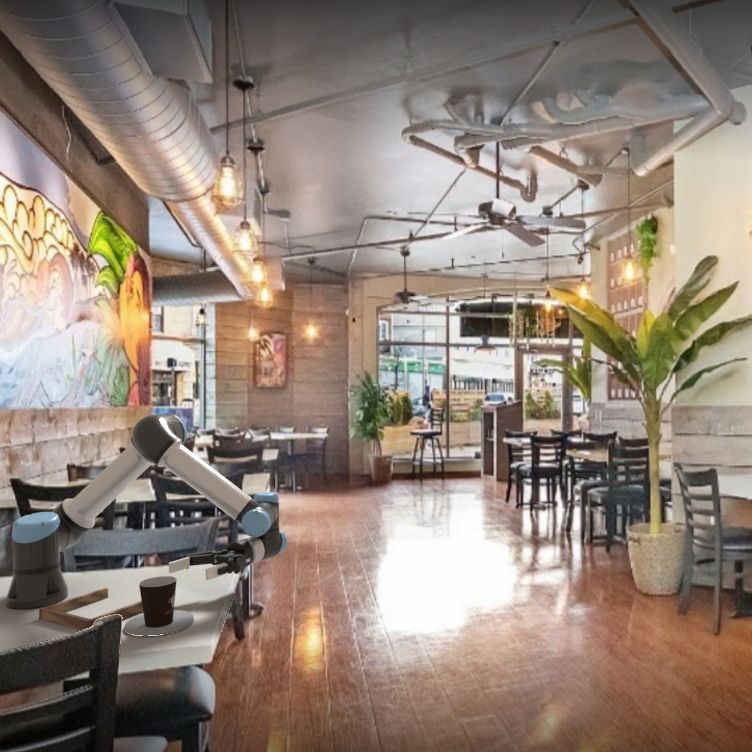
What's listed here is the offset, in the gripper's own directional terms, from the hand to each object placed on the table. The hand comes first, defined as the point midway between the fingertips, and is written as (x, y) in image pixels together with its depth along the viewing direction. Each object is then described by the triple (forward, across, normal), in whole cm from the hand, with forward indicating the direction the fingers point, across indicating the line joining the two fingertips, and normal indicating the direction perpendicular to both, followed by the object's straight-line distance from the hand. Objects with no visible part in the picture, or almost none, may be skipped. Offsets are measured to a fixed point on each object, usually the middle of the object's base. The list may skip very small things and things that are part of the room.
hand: (187, 571), depth 165 cm
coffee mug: (+9, -2, -10) cm, 13 cm away
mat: (+10, -1, -10) cm, 14 cm away
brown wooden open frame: (+11, +21, -10) cm, 26 cm away
